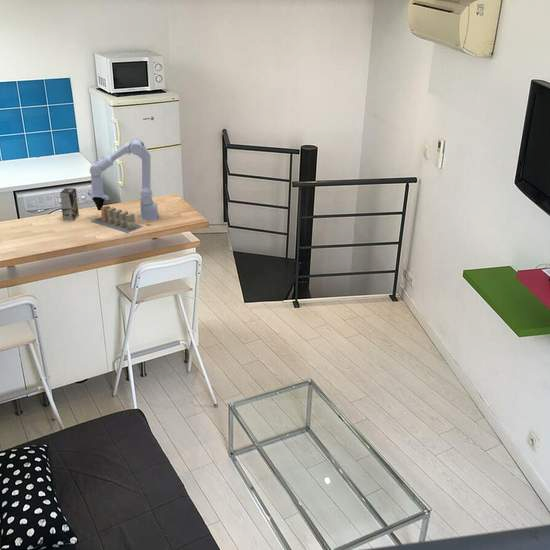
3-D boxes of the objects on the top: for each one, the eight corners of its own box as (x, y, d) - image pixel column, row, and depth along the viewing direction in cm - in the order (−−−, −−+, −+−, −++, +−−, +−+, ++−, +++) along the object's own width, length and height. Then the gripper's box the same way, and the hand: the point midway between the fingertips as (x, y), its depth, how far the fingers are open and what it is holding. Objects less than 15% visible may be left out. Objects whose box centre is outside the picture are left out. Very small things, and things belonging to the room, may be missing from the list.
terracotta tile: (102, 221, 342) (100, 207, 338) (108, 219, 345) (107, 205, 341) (104, 222, 340) (103, 208, 337) (111, 220, 344) (109, 206, 340)
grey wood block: (108, 223, 339) (107, 209, 336) (114, 221, 343) (113, 207, 339) (110, 224, 338) (109, 210, 335) (117, 221, 342) (115, 208, 338)
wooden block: (120, 227, 335) (119, 213, 331) (126, 224, 338) (125, 210, 335) (123, 228, 334) (121, 214, 330) (129, 225, 337) (128, 211, 334)
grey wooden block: (114, 225, 337) (113, 211, 333) (120, 222, 340) (119, 209, 337) (117, 226, 336) (115, 212, 332) (123, 223, 339) (121, 209, 336)
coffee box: (74, 221, 342) (71, 193, 335) (62, 221, 342) (59, 193, 335) (79, 215, 350) (76, 188, 343) (68, 215, 350) (64, 187, 343)
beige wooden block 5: (126, 229, 333) (125, 215, 329) (132, 226, 336) (131, 212, 332) (129, 230, 332) (128, 215, 328) (135, 227, 335) (134, 213, 332)
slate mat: (90, 222, 341) (90, 221, 341) (106, 215, 350) (106, 215, 350) (127, 233, 328) (127, 233, 328) (143, 227, 337) (143, 226, 337)
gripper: (82, 185, 337) (85, 209, 343) (101, 190, 330) (103, 214, 336) (92, 182, 342) (95, 205, 348) (111, 187, 335) (113, 211, 341)
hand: (99, 209), depth 343 cm, fingers closed
